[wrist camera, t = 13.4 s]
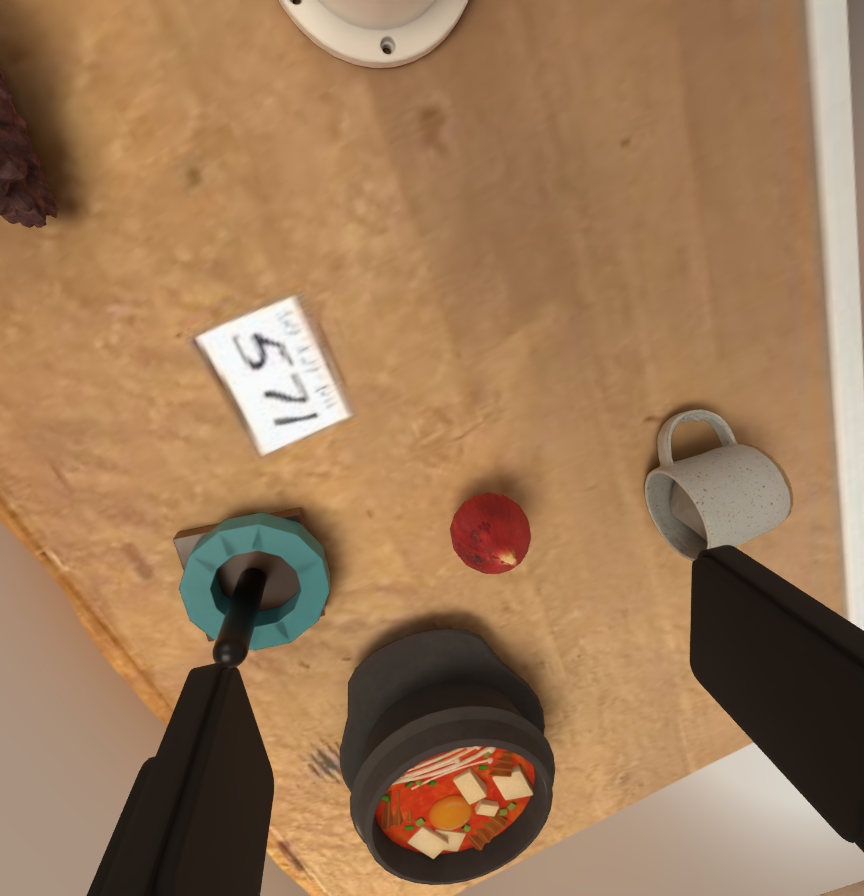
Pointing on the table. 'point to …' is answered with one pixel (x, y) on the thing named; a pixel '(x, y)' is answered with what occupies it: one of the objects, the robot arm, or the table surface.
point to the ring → (268, 537)
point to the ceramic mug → (715, 491)
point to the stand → (245, 589)
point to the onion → (490, 533)
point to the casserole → (444, 758)
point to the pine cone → (20, 170)
